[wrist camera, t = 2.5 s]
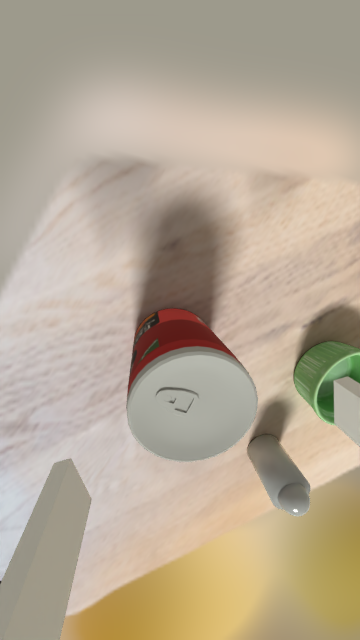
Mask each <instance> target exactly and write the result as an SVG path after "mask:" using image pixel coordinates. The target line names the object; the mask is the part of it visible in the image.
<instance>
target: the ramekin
mask: <svg viewBox="0 0 360 640" xmlns="http://www.w3.org/2000/svg"><path fill="white" fill-rule="evenodd" d="M347 376H348V377H350V378H351V379H353V380H355V381H356V382H358V383H360V349H359V348H356V347H353V346H350V345H347V344H344V343H340V342H334V341H328V342H323V343H320V344H318V345H316V346H314V347H312V348H311V349H310V350H308V351H307V352H306V353H305V354H304V355H303V356H302V358H301V359H300V361H299V362H298V364H297V366H296V369H295V373H294V384H295V387H296V389H297V391H298V392H299V394H300V395H301V396H302V397H303V398H304V399H305V400H306V401H307V402H308V403H309V404H310V405H311V407H312V408H313V409H314V411H315V412H316V414H317V415H318V416H319V418H320V419H322V420H323V421H324V422H326V423H328V424H331V425H335V424H334V380H337V379H340V378H344V377H347Z"/></svg>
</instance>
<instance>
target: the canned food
mask: <svg viewBox="0 0 360 640" xmlns="http://www.w3.org/2000/svg"><path fill="white" fill-rule="evenodd" d="M257 403H258V397H257V391H256V387H255V385H254V382H253V380H252V378H251V377H250V375H249V373H248V372H247V370H246V369H245V368H244V366H243V365H242V364H241V363H240V362H239V361H238V359H237V358H236V357H235V356H234V355H233V353H232V352H231V351H230V350H229V349H228V348H227V347H226V346H225V345H224V344H223V343H222V341H221V340H220V339H219V338H218V337H217V336H216V335H215V334H214V333H213V332H212V331H211V329H210V328H209V327H208V326H207V325H206V324H205V323H204V322H203V321H202V320H201V319H200V318H199V317H198V316H196V315H195V314H193V313H191V312H189V311H186V310H183V309H175V308H174V309H165V310H161V311H158V312H156V313H153V314H152V315H150V316H149V317H147V318H146V319H145V320H144V321H143V322H142V323H141V324H140V326H139V328H138V329H137V331H136V334H135V337H134V345H133V353H132V361H131V368H130V376H129V384H128V394H127V406H126V408H127V418H128V425H129V427H130V429H131V432H132V434H133V436H134V437H135V439H136V440H137V441H138V443H139V444H140V445H141V446H143V447H144V448H145V449H146V450H147V451H149V452H150V453H152V454H154V455H156V456H158V457H161V458H164V459H166V460H171V461H177V462H194V461H201V460H205V459H209V458H212V457H215V456H217V455H219V454H221V453H223V452H225V451H227V450H228V449H230V448H231V447H233V446H234V445H235V444H236V443H237V442H239V441H240V440H241V439H242V438H243V437H244V435H245V434H246V433H247V431H248V430H249V429H250V427H251V425H252V423H253V421H254V419H255V415H256V411H257Z"/></svg>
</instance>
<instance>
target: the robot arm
mask: <svg viewBox="0 0 360 640" xmlns="http://www.w3.org/2000/svg"><path fill="white" fill-rule="evenodd" d="M334 424H335V425H336V426H337V427H338V428H339V429H341V430H342V431H343V432H344V433H345V434H346V435H347V436H348V437H349V438H350V439H352V440H353V441H354V442H355V443H356V444H357V445H358V446H359V447H360V383H358V382H356V381H355V380H353V379H351V378H350V377H348V376H347V377H344V378H340V379H337V380H334ZM90 504H91V497H90V495H89V493H88V491H87V489H86V487H85V485H84V483H83V481H82V479H81V477H80V475H79V473H78V471H77V469H76V467H75V466H74V464H73V462H72V460H71V458H70V459H67V460H64V461H60V462H57V463H54V465H53V467H52V469H51V471H50V474H49V476H48V478H47V480H46V483H45V485H44V487H43V489H42V492H41V494H40V496H39V498H38V501H37V503H36V505H35V507H34V510H33V512H32V514H31V516H30V519H29V521H28V523H27V525H26V528H25V530H24V532H23V534H22V537H21V539H20V541H19V543H18V546H17V548H16V550H15V552H14V555H13V557H12V559H11V561H10V563H9V566H8V568H7V570H6V572H5V575H4V577H3V579H2V581H0V640H60V635H61V631H62V627H63V622H64V618H65V614H66V609H67V605H68V600H69V596H70V592H71V587H72V583H73V578H74V574H75V570H76V565H77V561H78V556H79V552H80V548H81V543H82V539H83V535H84V530H85V526H86V521H87V517H88V513H89V508H90Z"/></svg>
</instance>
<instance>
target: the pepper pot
mask: <svg viewBox="0 0 360 640" xmlns="http://www.w3.org/2000/svg"><path fill="white" fill-rule="evenodd" d="M247 454H248V457H249V458H250V460H251V462H252V464H253V466H254V468H255V470H256V472H257V474H258V476H259V478H260V480H261V482H262V483H263V485H264V487H265V489H266V491H267V493H268V495H269V497H270V499H271V501H272V503H273V504H274V506H275V507H277V508H279V509H284V510H285V511H286V512H288V513H289V514H291V515H293V516H302V515H304V514H305V513H306V512H307V511H308V509H309V506H310V498H309V492H310V485H309V483H308V481H307V480H306V479H305V477H304V476H303V474H302V473H301V472H300V470H299V469H298V467H297V466H296V465H295V463H294V462H293V461H292V459H291V458H290V456H289V455H288V454H287V452H286V451H285V450H284V448H283V447H282V445H281V444H280V443H279V441H278V440H277V438H276V437H274V436H273V435H269V434H264V435H260V436H258V437H256V438H255V439H253V440H252V441H251V442H250V444H249V446H248V448H247Z"/></svg>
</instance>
